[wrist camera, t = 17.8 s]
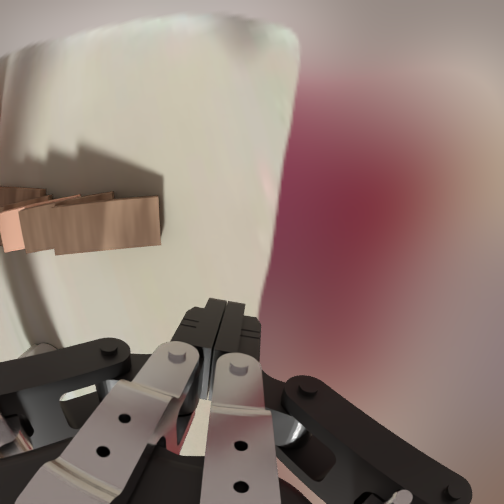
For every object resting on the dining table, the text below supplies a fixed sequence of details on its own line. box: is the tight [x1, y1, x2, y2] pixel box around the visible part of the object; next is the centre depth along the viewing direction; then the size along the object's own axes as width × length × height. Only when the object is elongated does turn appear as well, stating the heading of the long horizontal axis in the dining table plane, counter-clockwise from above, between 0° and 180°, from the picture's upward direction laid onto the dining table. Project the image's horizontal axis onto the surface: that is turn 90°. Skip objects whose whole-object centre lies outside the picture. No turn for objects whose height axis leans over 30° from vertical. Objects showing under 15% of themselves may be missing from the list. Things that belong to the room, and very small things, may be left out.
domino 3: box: [0, 194, 81, 253], centre depth 27 cm, size 2×5×12 cm
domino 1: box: [0, 187, 46, 207], centre depth 30 cm, size 2×5×12 cm
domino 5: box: [49, 195, 161, 255], centre depth 27 cm, size 2×5×12 cm
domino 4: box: [18, 191, 114, 254], centre depth 27 cm, size 2×5×12 cm
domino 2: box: [0, 195, 53, 246], centre depth 27 cm, size 2×5×12 cm
